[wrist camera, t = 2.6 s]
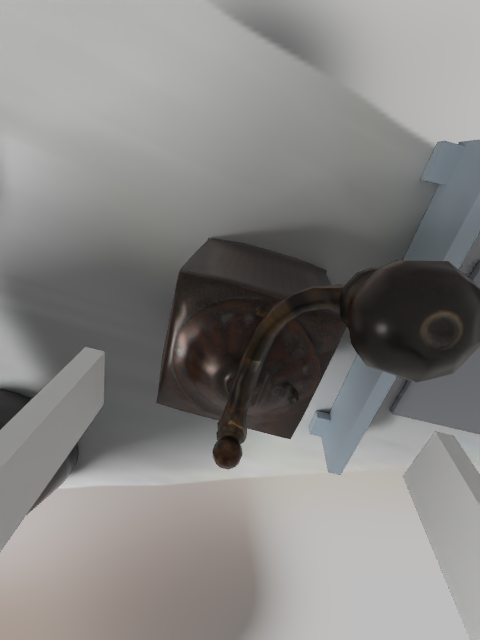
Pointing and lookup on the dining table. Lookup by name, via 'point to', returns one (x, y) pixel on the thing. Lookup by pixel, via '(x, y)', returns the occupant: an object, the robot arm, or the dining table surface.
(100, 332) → the dining table surface
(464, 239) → the low wall
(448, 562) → the robot arm
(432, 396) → the slate mat
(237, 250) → the coffee grinder
